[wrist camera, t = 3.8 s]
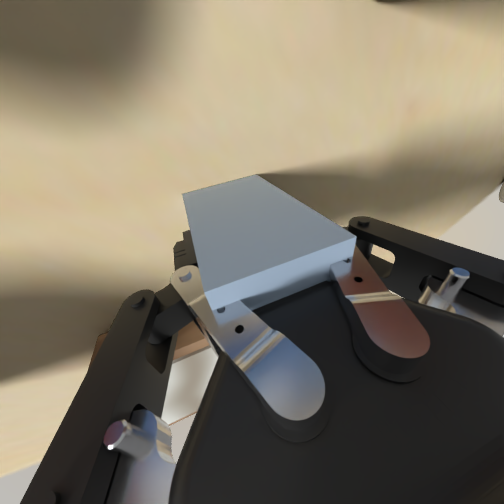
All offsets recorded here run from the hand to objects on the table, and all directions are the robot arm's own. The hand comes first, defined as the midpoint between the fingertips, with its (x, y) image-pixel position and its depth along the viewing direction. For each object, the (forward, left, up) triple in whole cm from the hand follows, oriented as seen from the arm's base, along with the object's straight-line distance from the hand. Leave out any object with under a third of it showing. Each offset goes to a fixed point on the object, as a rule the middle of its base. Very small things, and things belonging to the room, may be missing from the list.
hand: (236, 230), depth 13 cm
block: (0, 0, -2) cm, 2 cm away
